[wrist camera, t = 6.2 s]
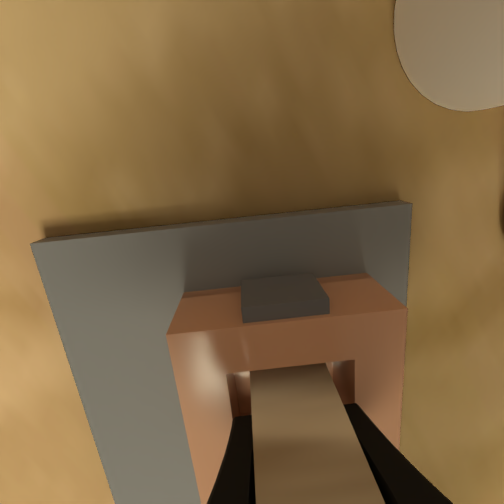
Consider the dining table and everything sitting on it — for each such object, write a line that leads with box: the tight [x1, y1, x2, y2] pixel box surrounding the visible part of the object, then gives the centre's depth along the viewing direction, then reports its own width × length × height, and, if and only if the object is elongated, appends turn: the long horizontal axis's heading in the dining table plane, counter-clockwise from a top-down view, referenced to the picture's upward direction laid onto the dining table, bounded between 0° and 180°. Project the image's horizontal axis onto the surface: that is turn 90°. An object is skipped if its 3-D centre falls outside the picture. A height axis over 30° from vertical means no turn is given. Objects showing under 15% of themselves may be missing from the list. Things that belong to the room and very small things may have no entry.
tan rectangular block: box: [250, 363, 385, 504], centre depth 9 cm, size 3×3×9 cm
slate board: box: [30, 201, 412, 504], centre depth 16 cm, size 22×16×1 cm
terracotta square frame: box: [166, 273, 408, 504], centre depth 13 cm, size 9×8×3 cm
